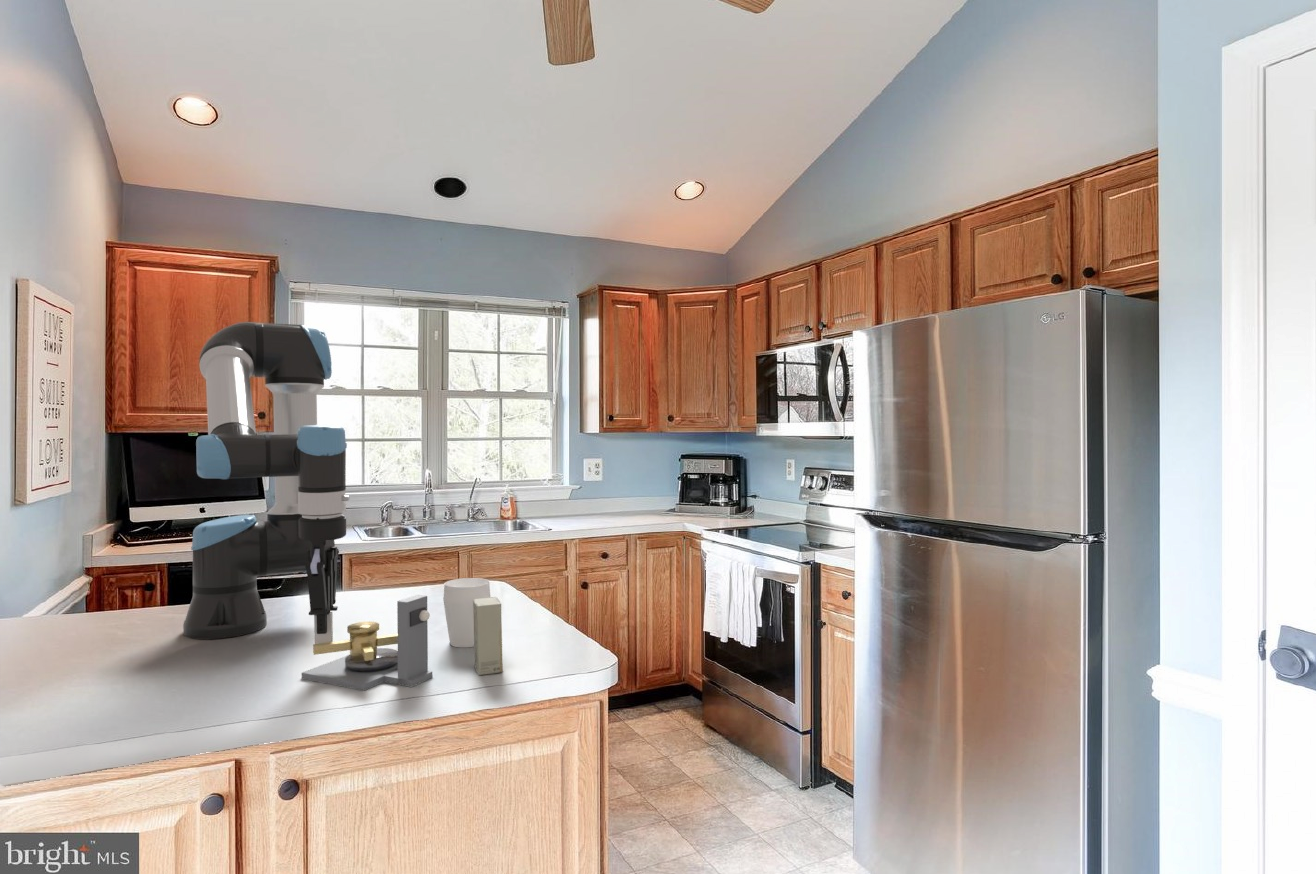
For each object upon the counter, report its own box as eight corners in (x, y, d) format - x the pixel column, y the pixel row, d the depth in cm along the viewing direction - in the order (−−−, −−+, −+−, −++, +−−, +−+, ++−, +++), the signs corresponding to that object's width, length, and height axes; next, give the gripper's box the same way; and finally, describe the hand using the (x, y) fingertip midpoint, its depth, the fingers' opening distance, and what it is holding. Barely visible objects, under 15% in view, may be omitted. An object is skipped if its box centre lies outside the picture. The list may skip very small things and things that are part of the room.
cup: (478, 651, 144) (478, 588, 143) (435, 648, 145) (434, 586, 145) (497, 637, 152) (497, 578, 152) (456, 635, 154) (456, 576, 154)
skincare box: (503, 673, 132) (502, 604, 131) (477, 676, 130) (476, 606, 130) (497, 662, 137) (497, 596, 137) (472, 664, 136) (472, 597, 136)
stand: (301, 678, 129) (300, 597, 128) (363, 654, 141) (363, 580, 141) (394, 696, 120) (394, 609, 120) (451, 669, 133) (451, 591, 133)
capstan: (316, 686, 121) (316, 644, 121) (311, 657, 136) (310, 620, 135) (425, 669, 129) (425, 630, 129) (409, 644, 143) (409, 609, 143)
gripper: (337, 520, 124) (338, 661, 125) (353, 509, 136) (354, 637, 137) (288, 521, 122) (289, 664, 124) (309, 509, 135) (310, 639, 136)
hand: (323, 650), depth 131 cm, fingers closed
